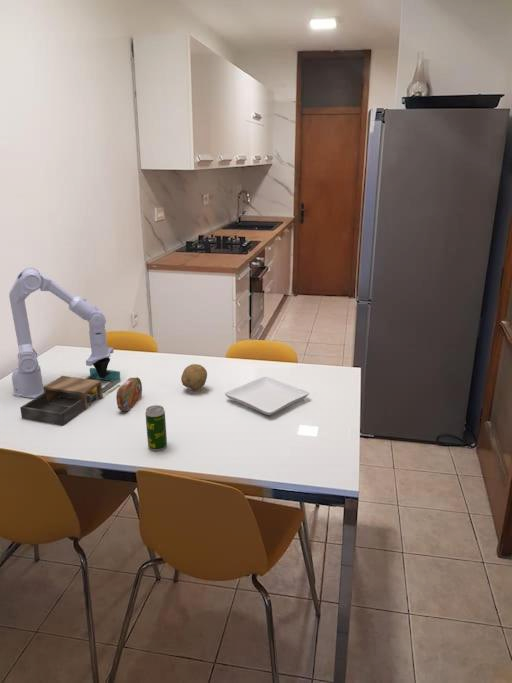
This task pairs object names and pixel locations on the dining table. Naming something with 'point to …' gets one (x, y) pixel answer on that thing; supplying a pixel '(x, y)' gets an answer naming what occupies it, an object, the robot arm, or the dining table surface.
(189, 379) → the brown potato
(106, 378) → the drawer
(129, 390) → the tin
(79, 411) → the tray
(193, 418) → the dining table surface
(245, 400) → the salad plate
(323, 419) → the dining table surface
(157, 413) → the beer can
